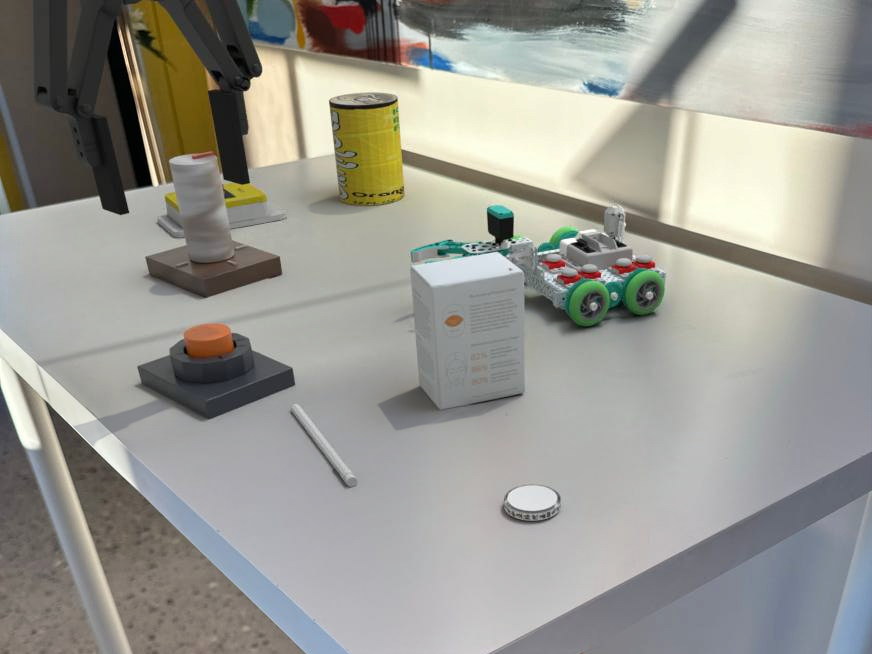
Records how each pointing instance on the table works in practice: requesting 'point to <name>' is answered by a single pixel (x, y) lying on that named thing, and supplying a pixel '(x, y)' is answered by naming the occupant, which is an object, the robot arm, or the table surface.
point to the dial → (202, 207)
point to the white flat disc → (532, 502)
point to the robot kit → (570, 265)
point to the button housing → (216, 378)
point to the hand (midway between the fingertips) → (178, 195)
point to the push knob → (208, 340)
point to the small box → (469, 329)
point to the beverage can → (367, 148)
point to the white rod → (324, 446)
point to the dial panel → (214, 269)
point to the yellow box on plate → (228, 209)
